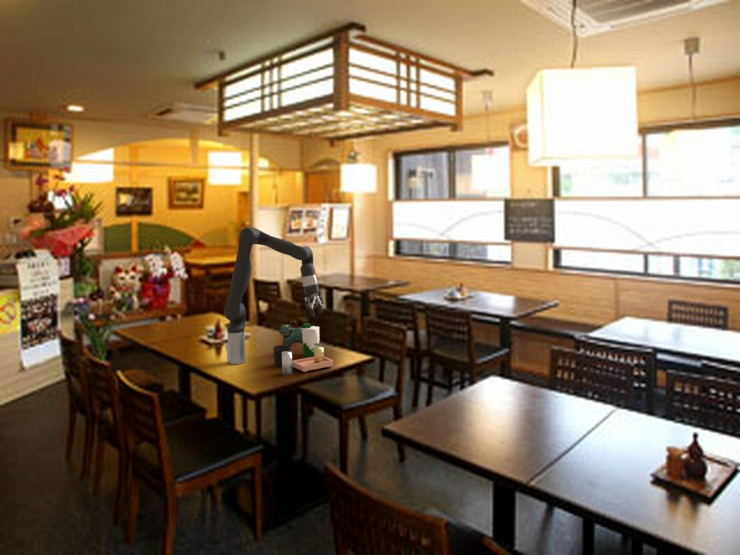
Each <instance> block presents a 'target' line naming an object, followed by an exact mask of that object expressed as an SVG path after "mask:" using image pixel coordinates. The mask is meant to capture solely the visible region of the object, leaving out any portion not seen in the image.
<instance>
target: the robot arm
mask: <svg viewBox="0 0 740 555" xmlns="http://www.w3.org/2000/svg"><path fill="white" fill-rule="evenodd" d="M253 245H254V246H255V245H257V246H258V245H259V246H265V247H267V248H270V249H272V250H273V251H275V252H277V253H279V254H280V253H281V254H283V255H285V256H289V257H291V258H292V259H295V260H298V261H301V266H300V276H301V279H302V285H303V290H304V292H303V293H304V294H305V295H306V296H305V297H303V302H304V308H305V309H306V310H308V311H309V316H310V317H315V312H314V305H316V306H317V310H318V314H322V313H324V310H323V304H324V303H325V302H324V298H323V294H322V292H320V289H319V284H318V279H317V275H316V272H315V268H314V267H315V266H314V254H313V250H312V248H310V247H309V246H306V245H305V246H300V245H297V244H295V243H293V242H292V241H288V240H286V239H282V238H279V237H275V236H273V235H270V234H268V233H266V232H264V231H262V230H260V229H258V228H256V227H249V226H248V227H244V228H242V229H241V230H240V232H239V235H238V244H237V254H236V258H235V263H234V269H233V273H232V277H231V283H230V288H229V292H228V297H227V300H226V303H225V306H224V309H223V310H224V311H223V314H224V318H226V319H227V321H229V323H228V325H227V328H226V330H227V345H226V360H227V363H228V364H229V363H230V365H231V364H232V365H241V363H242V364H245V363H246V362H247V360H246V359H247V358H246V357H247V356H246V355H247V354H246V337H245V336H246V334H245V332H246V331H245V328H246V325H247V324H246V323H247V322H246V321H247V320H246V318H247V315H246V311H247V310H246V307H245V305H244V304H243V303H242V299H243V296H244V293H245V291H246V289H247V287H248V285H249V283H250V280H251V275H252V267H253V266H252V261H251V251H252V248H253ZM244 362H245V363H244Z"/></svg>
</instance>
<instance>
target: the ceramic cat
mask: <svg viewBox="0 0 740 555" xmlns="http://www.w3.org/2000/svg"><path fill="white" fill-rule="evenodd" d="M292 322H294V323H297V321H296V320H291V321H290V325H289V324H284V323H281V326H280V327H279V335H280V336H282V337H283V339H282V345H283V346H291V347H292V346H293V344H302V345H303V336H302V328H303V325H301V326H297V327H293V326H292Z"/></svg>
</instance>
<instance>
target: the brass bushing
mask: <svg viewBox="0 0 740 555" xmlns="http://www.w3.org/2000/svg"><path fill="white" fill-rule="evenodd" d="M324 352H325V351H324V346H321V345H320V346H317V347H314V363H321V362H324V357H325V355H324Z"/></svg>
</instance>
